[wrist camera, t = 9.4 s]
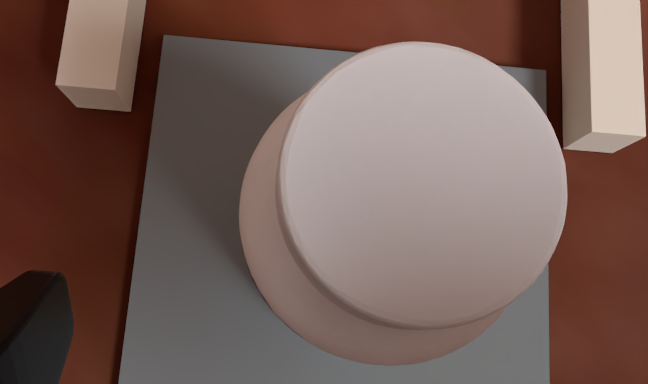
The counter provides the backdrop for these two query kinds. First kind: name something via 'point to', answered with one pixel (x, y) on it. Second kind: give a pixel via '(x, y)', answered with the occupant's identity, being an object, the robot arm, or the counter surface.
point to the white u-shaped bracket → (576, 44)
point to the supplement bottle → (402, 203)
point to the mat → (226, 249)
